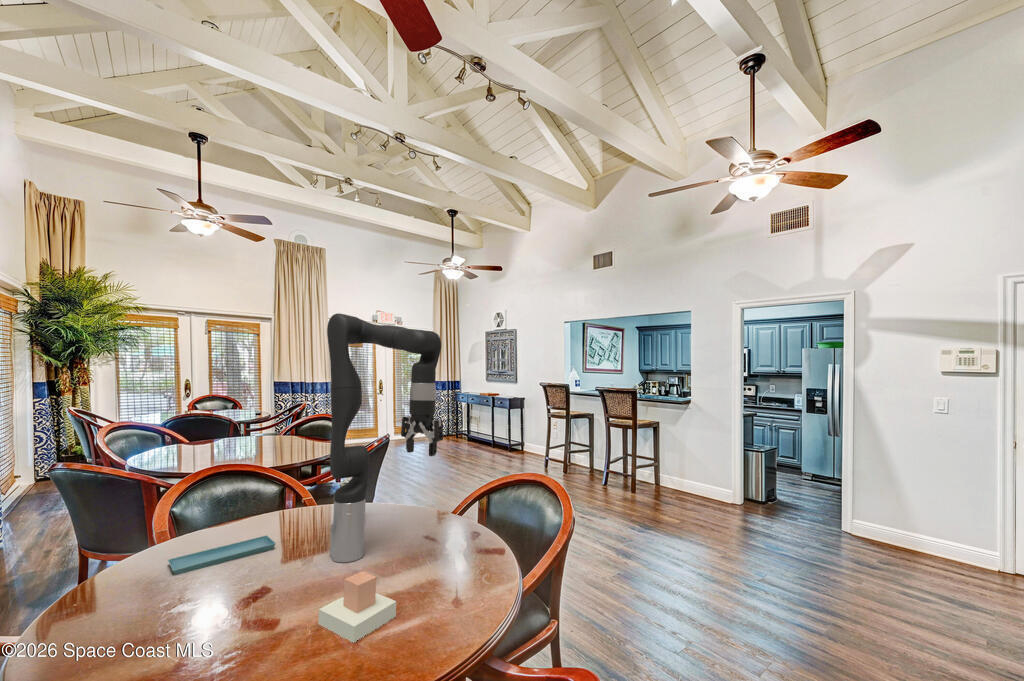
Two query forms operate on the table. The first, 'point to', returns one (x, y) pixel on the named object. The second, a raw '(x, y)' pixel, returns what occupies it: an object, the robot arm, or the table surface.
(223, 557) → the teal serving tray
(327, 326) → the robot arm
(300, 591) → the table surface
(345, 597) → the terracotta block
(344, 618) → the sage base block
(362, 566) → the table surface
